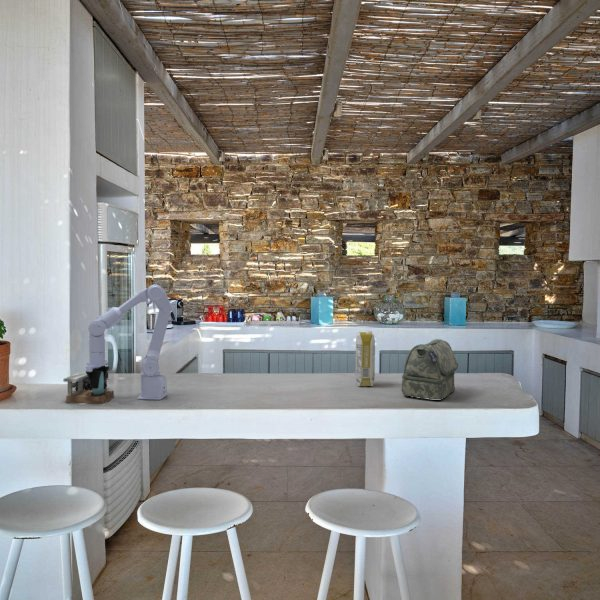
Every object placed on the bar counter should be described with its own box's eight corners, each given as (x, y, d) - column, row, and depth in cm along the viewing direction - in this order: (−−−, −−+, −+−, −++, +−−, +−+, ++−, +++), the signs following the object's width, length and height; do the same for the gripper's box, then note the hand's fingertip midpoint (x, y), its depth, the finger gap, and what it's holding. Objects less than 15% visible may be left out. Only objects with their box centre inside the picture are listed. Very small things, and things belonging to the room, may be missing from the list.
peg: (105, 392, 213) (105, 371, 213) (100, 394, 209) (99, 373, 209) (96, 391, 214) (95, 371, 213) (90, 394, 210) (90, 373, 209)
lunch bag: (442, 404, 211) (443, 347, 209) (396, 397, 220) (397, 343, 219) (460, 390, 233) (461, 339, 232) (418, 385, 242) (419, 336, 241)
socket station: (115, 397, 216) (115, 374, 216) (103, 403, 206) (103, 380, 206) (76, 396, 218) (76, 373, 217) (63, 402, 208) (63, 378, 207)
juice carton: (375, 387, 237) (376, 332, 236) (356, 387, 237) (357, 331, 236) (372, 383, 247) (373, 329, 245) (354, 382, 247) (355, 329, 245)
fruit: (69, 370, 222) (108, 368, 226) (72, 373, 230) (110, 370, 234) (69, 392, 220) (109, 389, 224) (72, 394, 228) (110, 391, 232)
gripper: (96, 348, 218) (96, 382, 219) (77, 354, 204) (78, 390, 204) (113, 348, 217) (113, 383, 218) (96, 354, 203) (96, 391, 204)
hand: (97, 387), depth 211 cm, fingers closed on peg, 4 cm apart
